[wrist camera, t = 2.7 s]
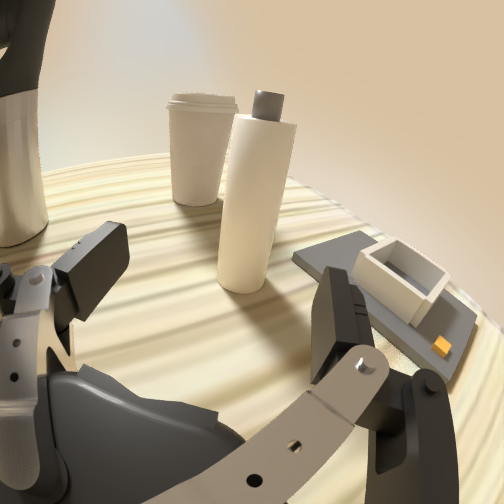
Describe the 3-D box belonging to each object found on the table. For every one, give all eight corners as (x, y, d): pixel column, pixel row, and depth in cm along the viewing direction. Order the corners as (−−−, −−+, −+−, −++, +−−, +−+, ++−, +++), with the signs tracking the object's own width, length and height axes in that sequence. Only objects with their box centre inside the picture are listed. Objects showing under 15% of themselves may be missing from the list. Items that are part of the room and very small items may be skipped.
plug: (207, 270, 25) (226, 87, 16) (246, 258, 28) (273, 93, 19) (233, 299, 22) (265, 91, 14) (273, 284, 25) (315, 101, 16)
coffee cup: (171, 183, 42) (177, 92, 34) (229, 189, 43) (242, 96, 35) (153, 207, 34) (157, 93, 26) (224, 215, 35) (239, 97, 27)
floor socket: (291, 259, 29) (300, 226, 26) (357, 236, 36) (366, 210, 34) (442, 387, 16) (471, 358, 14) (473, 321, 23) (490, 295, 21)
